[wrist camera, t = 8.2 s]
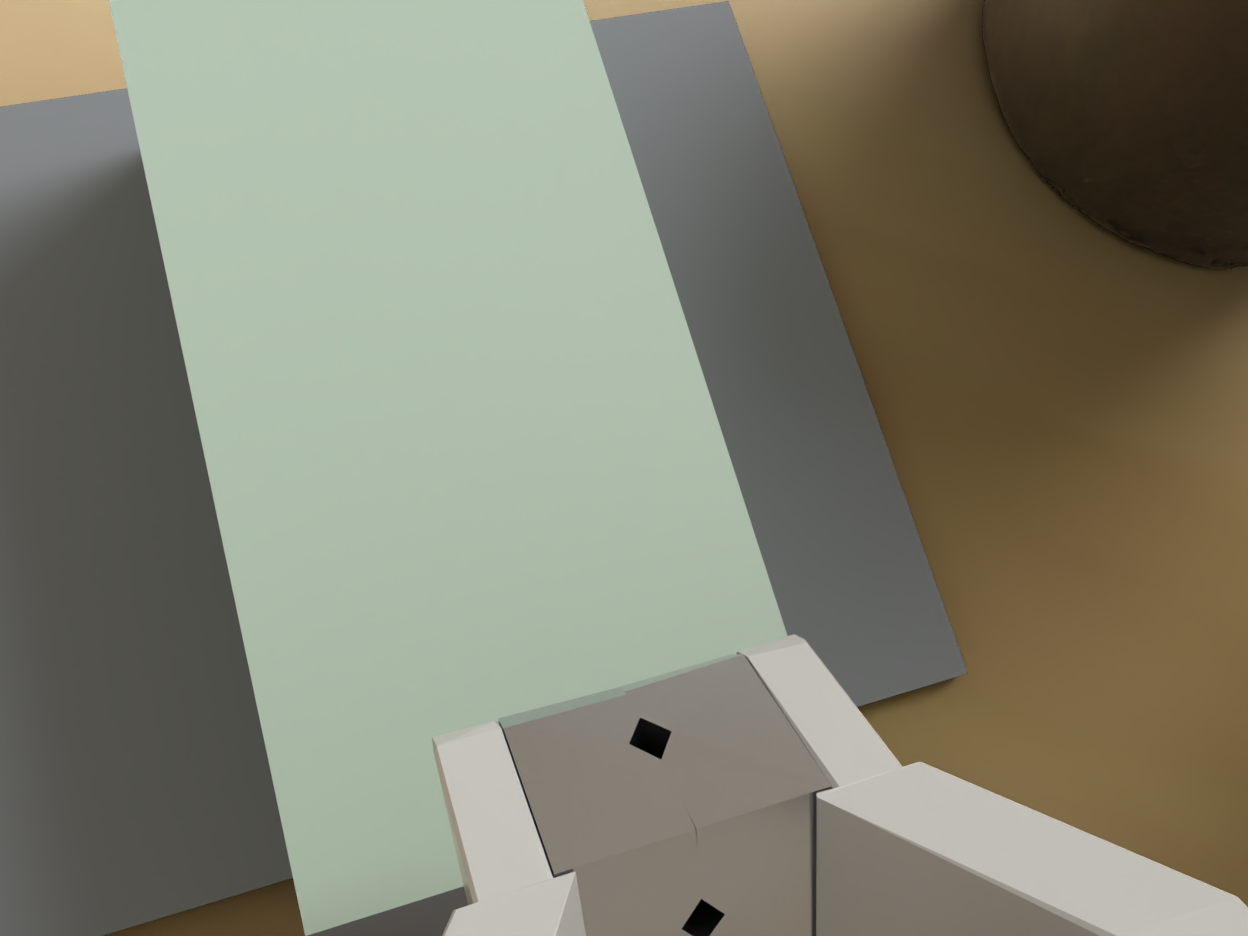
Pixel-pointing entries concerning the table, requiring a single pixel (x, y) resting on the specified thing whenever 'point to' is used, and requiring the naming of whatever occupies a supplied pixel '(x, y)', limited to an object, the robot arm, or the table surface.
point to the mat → (187, 520)
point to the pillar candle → (1134, 114)
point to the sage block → (428, 400)
